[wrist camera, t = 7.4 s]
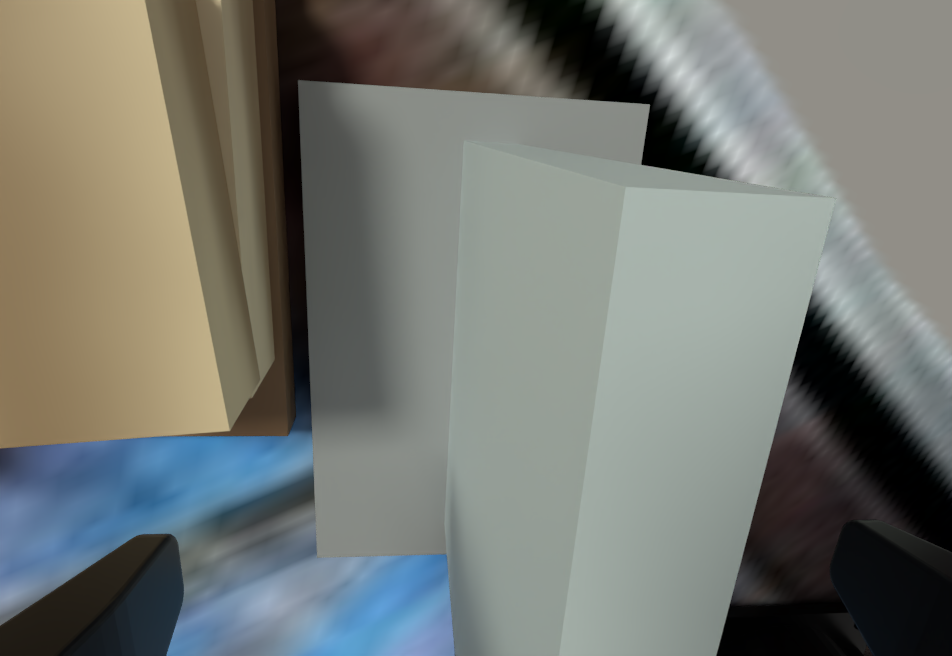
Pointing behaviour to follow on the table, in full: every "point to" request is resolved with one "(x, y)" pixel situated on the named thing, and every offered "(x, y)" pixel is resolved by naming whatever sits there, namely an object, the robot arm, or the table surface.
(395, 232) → the mat
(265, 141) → the rack
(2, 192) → the offcut upper
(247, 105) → the offcut lower
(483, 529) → the panel
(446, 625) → the table surface
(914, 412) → the table surface
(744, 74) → the table surface
